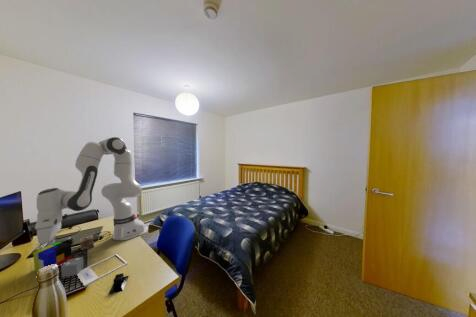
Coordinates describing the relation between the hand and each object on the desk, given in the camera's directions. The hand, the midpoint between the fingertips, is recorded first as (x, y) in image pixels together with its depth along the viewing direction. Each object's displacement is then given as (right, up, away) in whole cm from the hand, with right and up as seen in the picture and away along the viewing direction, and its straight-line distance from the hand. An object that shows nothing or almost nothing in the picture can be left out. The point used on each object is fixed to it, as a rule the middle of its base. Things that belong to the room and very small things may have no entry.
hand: (51, 243), depth 89 cm
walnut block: (+3, -11, +18) cm, 21 cm away
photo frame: (+29, -13, -2) cm, 32 cm away
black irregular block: (+46, -13, -12) cm, 49 cm away
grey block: (+16, -13, -5) cm, 21 cm away
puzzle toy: (0, -13, +1) cm, 13 cm away
